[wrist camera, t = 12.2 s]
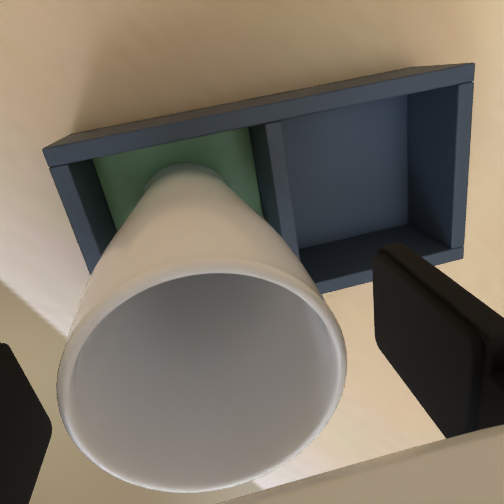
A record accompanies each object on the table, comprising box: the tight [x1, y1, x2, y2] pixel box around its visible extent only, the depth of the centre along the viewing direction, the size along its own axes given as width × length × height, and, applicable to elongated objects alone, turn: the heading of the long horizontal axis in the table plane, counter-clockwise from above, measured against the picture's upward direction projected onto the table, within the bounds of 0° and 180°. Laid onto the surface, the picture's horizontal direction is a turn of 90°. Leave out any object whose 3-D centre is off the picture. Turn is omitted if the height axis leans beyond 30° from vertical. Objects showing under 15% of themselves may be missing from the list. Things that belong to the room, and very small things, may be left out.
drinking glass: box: [57, 162, 347, 493], centre depth 16 cm, size 7×7×15 cm
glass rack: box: [42, 63, 475, 294], centre depth 21 cm, size 10×19×5 cm, turn 100°
